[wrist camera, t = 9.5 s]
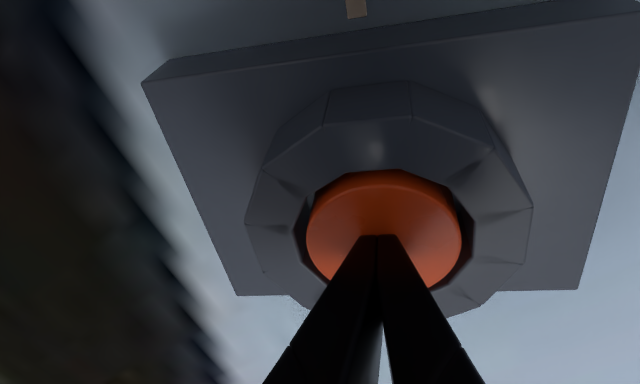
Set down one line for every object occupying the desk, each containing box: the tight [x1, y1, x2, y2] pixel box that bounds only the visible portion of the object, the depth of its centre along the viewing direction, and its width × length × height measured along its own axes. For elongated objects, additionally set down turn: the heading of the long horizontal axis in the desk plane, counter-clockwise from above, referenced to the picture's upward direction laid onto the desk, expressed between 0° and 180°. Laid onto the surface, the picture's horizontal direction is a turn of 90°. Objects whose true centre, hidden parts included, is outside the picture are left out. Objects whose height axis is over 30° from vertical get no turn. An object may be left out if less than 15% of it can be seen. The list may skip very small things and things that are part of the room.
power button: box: [306, 169, 462, 288], centre depth 10 cm, size 4×4×2 cm
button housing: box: [141, 0, 640, 318], centre depth 11 cm, size 11×8×4 cm
